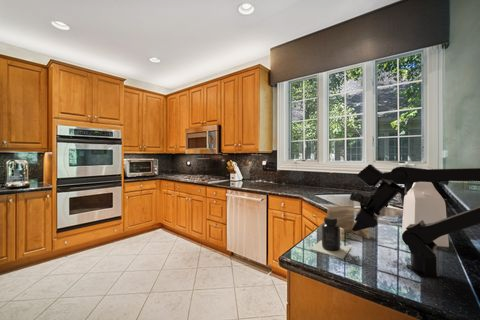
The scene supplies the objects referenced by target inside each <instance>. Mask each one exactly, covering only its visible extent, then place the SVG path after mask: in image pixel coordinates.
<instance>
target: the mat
mask: <svg viewBox="0 0 480 320" xmlns="http://www.w3.org/2000/svg"><path fill="white" fill-rule="evenodd" d="M351 248H352V247H351V246H346V245H343V244H340V250H338V251H329V250H326V249H324V248H323V247H322V240H319V241H318V242H317V243H316V244H315V245H313V246H312V247H311V248H310V251H313V252H316V253H320V254H323V255H328V256H332V257H334V258H335V257H336V258H338V259H339V258H340V259H342V260H343V259H345V257H346V256H347V254H348V253H349V252H350V250H351Z"/></svg>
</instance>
